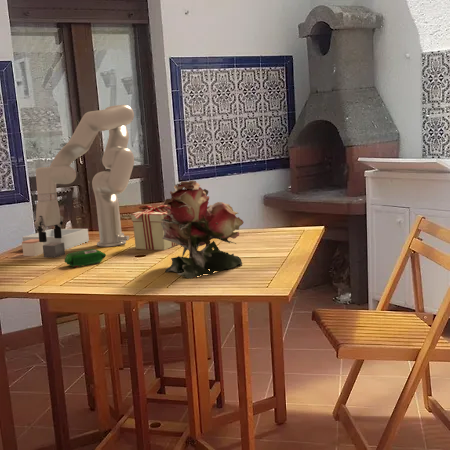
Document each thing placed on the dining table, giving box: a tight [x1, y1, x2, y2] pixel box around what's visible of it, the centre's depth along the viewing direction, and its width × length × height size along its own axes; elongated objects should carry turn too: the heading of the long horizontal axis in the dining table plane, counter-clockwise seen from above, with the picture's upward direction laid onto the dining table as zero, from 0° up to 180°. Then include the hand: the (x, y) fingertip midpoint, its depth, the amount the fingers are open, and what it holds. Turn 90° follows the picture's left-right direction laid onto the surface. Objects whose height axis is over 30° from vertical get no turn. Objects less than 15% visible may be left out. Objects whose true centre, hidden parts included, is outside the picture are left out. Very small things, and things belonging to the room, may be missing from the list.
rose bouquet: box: [161, 180, 244, 279], centre depth 218 cm, size 26×29×30 cm
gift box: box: [130, 204, 179, 251], centre depth 262 cm, size 17×18×17 cm
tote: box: [21, 228, 90, 251], centre depth 282 cm, size 20×20×6 cm
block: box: [43, 243, 66, 258], centre depth 260 cm, size 6×6×5 cm
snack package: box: [64, 248, 107, 268], centre depth 239 cm, size 7×16×5 cm, turn 119°
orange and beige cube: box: [21, 239, 44, 257], centre depth 266 cm, size 6×6×6 cm
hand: (50, 240), depth 259 cm, fingers open, 9 cm apart
